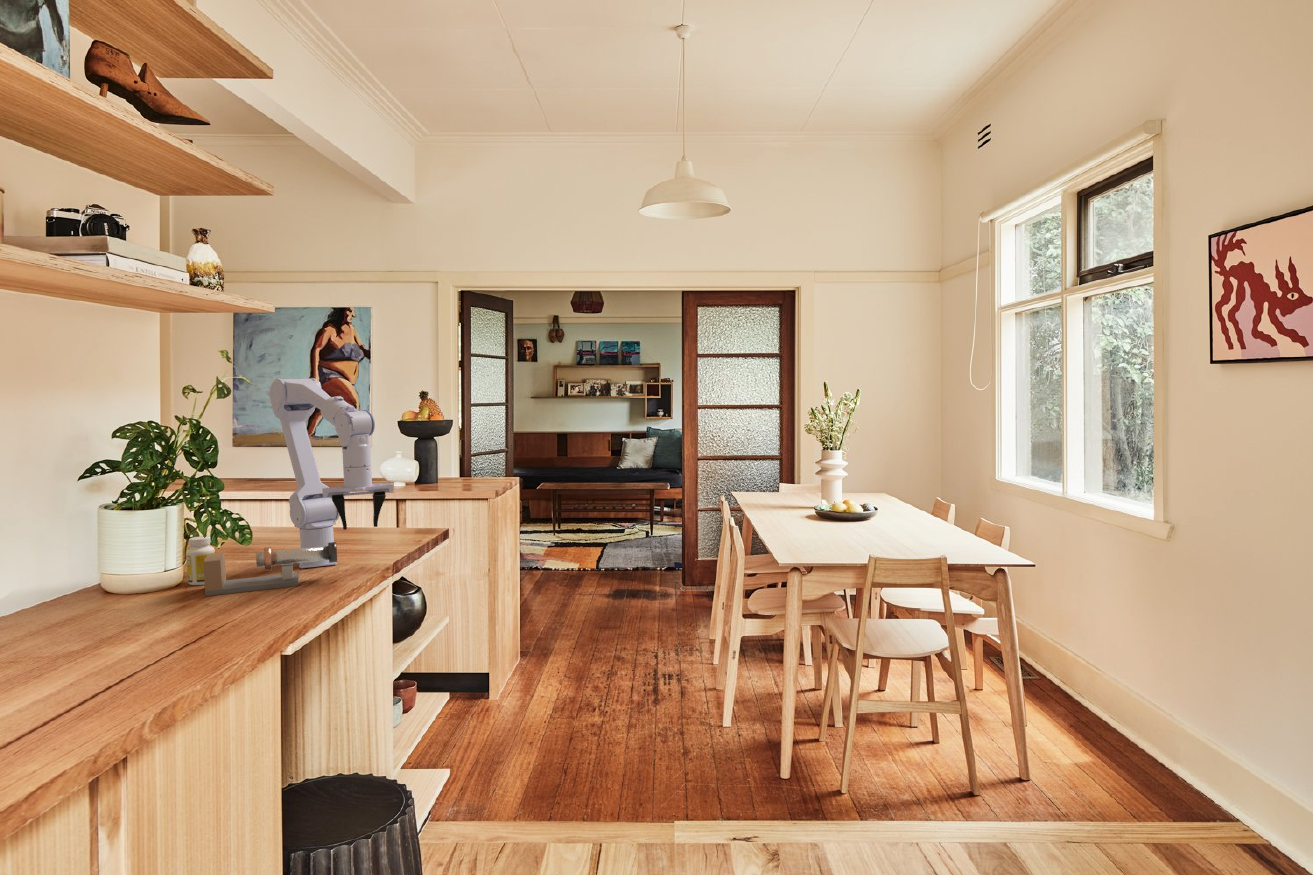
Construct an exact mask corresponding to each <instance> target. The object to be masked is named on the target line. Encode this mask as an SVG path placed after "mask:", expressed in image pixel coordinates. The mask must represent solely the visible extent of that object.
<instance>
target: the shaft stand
mask: <svg viewBox="0 0 1313 875" xmlns="http://www.w3.org/2000/svg"><path fill="white" fill-rule="evenodd" d="M225 555H226V554H225V552H218V553H217V552H215V553H214V554H208V555H207V557H206V558H205V560H204V562H203V565H204V580H205V585H204V593H205V597H209V596H217V595H218V596H219V595H226V594H227V595H228V594H237V593H245V592H254V591H262V590H270V589H279V588H281V589H282V588H288V587H298V586H299V580H300V574H299V572H294V569H293V567H294V566H293V564H294V563H293V564H283V565H281V574H275V575H264V576H255V577H247V578H246V577H244V578H235V579H227V572H226V571H227V570H226V558H225Z"/></svg>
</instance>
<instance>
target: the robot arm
mask: <svg viewBox="0 0 1313 875" xmlns="http://www.w3.org/2000/svg"><path fill="white" fill-rule="evenodd" d="M268 393H269V394H268V396H269V400H270V403H271V406H272V407H271V408H272V411H273V414H274V417H276V419H279V422H280V426H281V429H282V433H283V436H284V439H285V440H284V441H285V444H286V448H287V451H288V455H289V459H290V463H291V466H292V470H293V474H294V479H295V481H296V487H297V489H295V491H294V492H292V494H291V495H290V497H289V498H288V503H289V516H290V520H291V523H293V525H294V526H295V527H296V528H297V529H299V541H300V542H299V544H300V549H302V548H312V547H322V546H328V543H330V542H335V540H334V525H336V521H337V520H339V518H340V520H341V524H342V528H343V530H346V531H347V530H348V527H347V526H348V525H347V518H346V503H345V497H348V496H361V495H372V506H373V514H372V515H373V517H372V518H373V519H372V520H373V521H372V522H373V527H374V528H377V527H379V526H378V524H379V517H380V513H381V510H382V507H383V504H384V503H385V500H386V496H387V495H386V494H387V493H388V494H389V493H390V494H394V493H395V492H394V491H395V490H394V483H393V482H391V483H389V482H388V483H373V477H372V459H371V438H370V437H371V436H372V435H373V434H374V432H375V428H376V425H375V418H374V415H373V414H372V413H371V412H370V411H369V410H367V409H362V410H358V409H356V408H355V406H354V405H351V404H350V403H348V402H347V401H346V400H344V397H342V396H341V395H338V396H330V395H329V394H328V393H327V392H326V391H325V390H324V389H322V384H321V382H320V381H319V380H317V379H316V378H314V377H310V378H283V379H282V378H275V379H273V381H272V382H271V385H270V388H269V392H268ZM315 409H318V410H320V414H321V416H322V418H323V419H324V420H326V421H327V422H328V423H329V424H331V425H333V427H335V431H336V434H337V436H338V441H339V442H338V443H339V445H340V446H341V448H342V451H341V452H342V466H343V467H342V468H343V470H342V471H343V485H341V486H340V485H339V486H332V487H330V486H328V485H326V484H324V483H323V482H322V481H321V477H320V473H319V469H318V466H317V462H316V458H315V454H314V451H313V448H312V443H311V440H310V437H309V432H308V429H307V425H306V418H308V417H310V416H312V415H313V413H314V411H315ZM335 565H338V561H337V562H334V563H329V560H322V561H312V562H303V563H299V566H298V567H299V569H305V568H315V567H316V568H317V567H324V566H325V567H326V566H335Z"/></svg>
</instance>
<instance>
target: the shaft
mask: <svg viewBox="0 0 1313 875" xmlns="http://www.w3.org/2000/svg"><path fill="white" fill-rule="evenodd" d="M263 549H264V550H263V551H261V552H256V553H255V559H256V561H255V562H256V567H257V568H263V567H264V571H265V572H269V571H273V566H282V565H284V564H300V563H303V562H312V561H322V560H329V563H334V562H337V563H338V550H337V549H338V548H337V542H336V541H334V542H330V543H328V546H322V547H312V548H302V549H301V548H293V549H283V550H272V546H265V547H264V548H263Z"/></svg>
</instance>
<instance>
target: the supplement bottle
mask: <svg viewBox="0 0 1313 875" xmlns="http://www.w3.org/2000/svg"><path fill="white" fill-rule="evenodd" d="M203 536H204V535H202V537H201V536H193V537H190V538H189V539H188V545H189V546H190V548H188V549H187V550H186V552H185V553H186V554H185V555H186V567H187V568H186V570H187V582H188V585H190V586H203V585H204V586H205V580H204V565H203V562H204V560H205V558H206V557H207V555H208V554H214V553H216V550H215V548H214V547H213V546H212V545H211V543H212V542H211V536H208V535H205V536H206V537H205V538H204V537H203Z"/></svg>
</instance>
